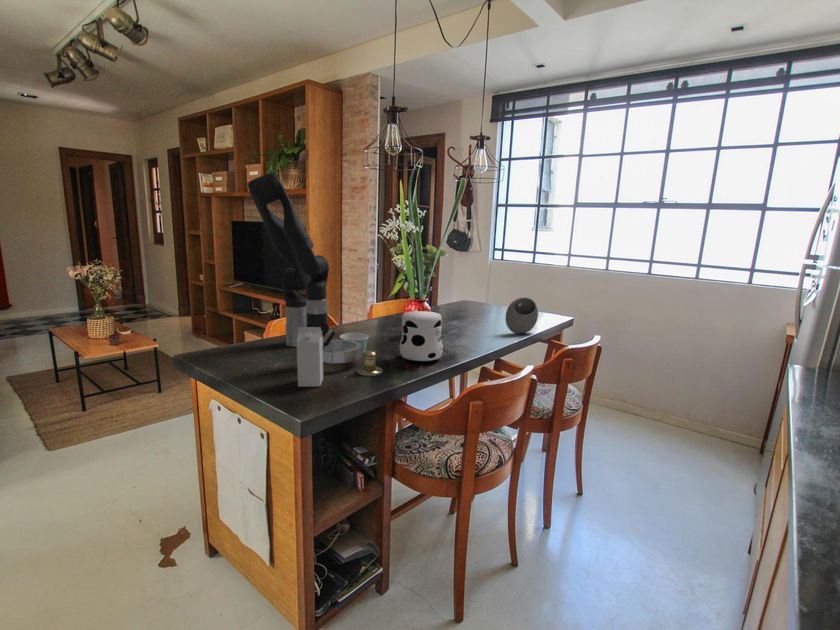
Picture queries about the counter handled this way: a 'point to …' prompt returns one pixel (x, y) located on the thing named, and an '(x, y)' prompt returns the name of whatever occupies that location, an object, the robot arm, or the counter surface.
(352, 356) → the steel ring
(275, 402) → the counter surface
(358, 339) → the food container
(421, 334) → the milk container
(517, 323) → the planter
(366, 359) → the brass door knob
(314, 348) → the milk carton
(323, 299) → the robot arm
